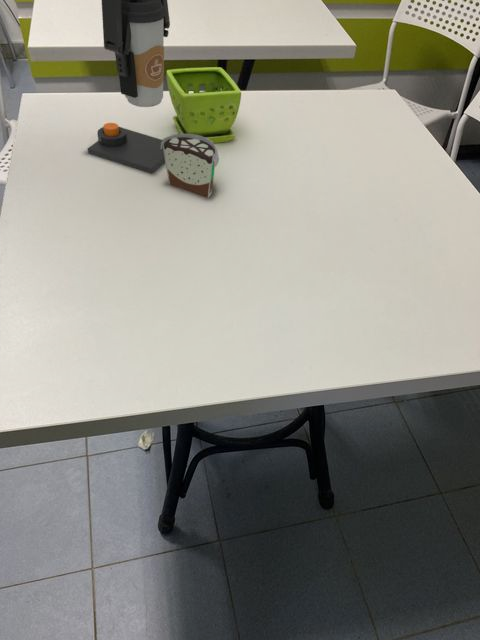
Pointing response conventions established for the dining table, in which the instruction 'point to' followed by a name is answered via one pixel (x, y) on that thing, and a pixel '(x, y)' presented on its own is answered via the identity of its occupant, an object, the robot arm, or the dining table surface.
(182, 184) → the food container
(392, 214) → the dining table surface
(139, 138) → the dark grey flat block
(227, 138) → the flower pot
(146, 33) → the coffee cup
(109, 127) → the button
